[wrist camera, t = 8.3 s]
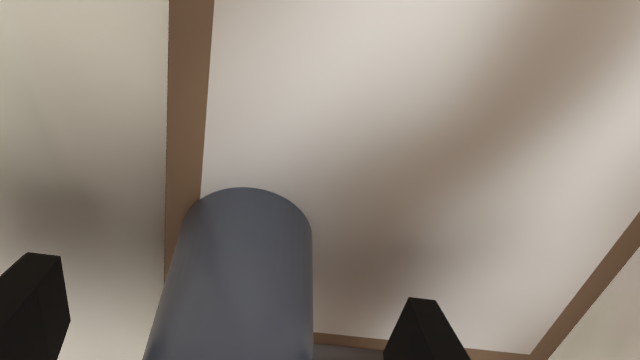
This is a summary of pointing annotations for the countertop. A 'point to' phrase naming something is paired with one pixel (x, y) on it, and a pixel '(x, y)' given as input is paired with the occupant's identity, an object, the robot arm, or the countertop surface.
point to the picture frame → (421, 154)
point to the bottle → (238, 282)
